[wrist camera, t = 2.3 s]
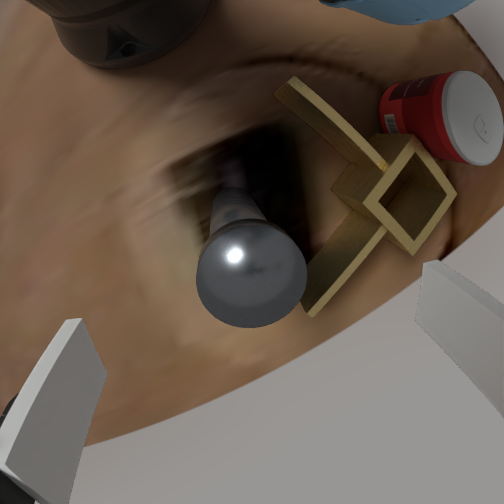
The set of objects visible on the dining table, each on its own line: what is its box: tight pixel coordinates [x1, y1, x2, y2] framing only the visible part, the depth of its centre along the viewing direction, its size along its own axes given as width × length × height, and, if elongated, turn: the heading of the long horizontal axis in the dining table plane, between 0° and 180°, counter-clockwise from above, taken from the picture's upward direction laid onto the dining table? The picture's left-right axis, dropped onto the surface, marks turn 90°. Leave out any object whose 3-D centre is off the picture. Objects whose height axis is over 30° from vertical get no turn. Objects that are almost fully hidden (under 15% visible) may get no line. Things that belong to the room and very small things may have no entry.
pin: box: [196, 187, 307, 328], centre depth 21 cm, size 5×5×16 cm
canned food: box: [378, 71, 504, 166], centre depth 21 cm, size 8×8×11 cm
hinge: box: [273, 76, 457, 318], centre depth 25 cm, size 18×18×7 cm
